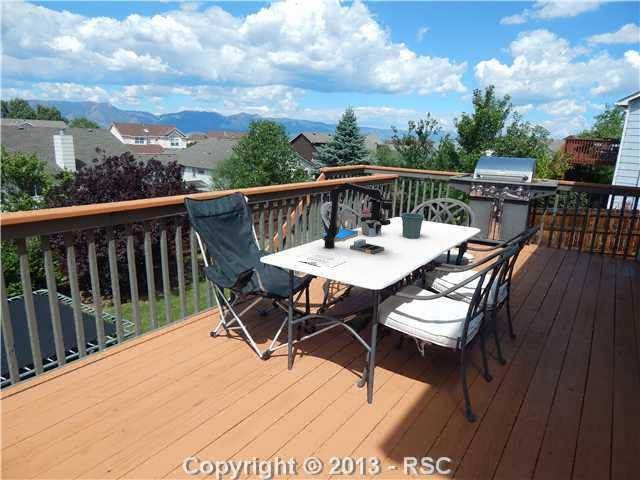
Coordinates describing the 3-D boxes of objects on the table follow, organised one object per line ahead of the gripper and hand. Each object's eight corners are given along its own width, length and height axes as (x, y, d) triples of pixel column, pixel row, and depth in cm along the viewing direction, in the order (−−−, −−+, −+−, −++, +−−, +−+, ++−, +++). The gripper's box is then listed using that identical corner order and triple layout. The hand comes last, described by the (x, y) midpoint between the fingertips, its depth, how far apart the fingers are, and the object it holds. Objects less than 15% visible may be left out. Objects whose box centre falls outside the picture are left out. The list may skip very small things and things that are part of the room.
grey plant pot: (384, 237, 295) (385, 208, 290) (359, 237, 295) (360, 208, 290) (381, 231, 312) (382, 204, 307) (357, 231, 313) (358, 204, 308)
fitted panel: (357, 249, 258) (357, 242, 257) (353, 248, 260) (353, 241, 259) (365, 246, 265) (365, 239, 264) (361, 246, 267) (362, 238, 266)
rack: (372, 256, 248) (373, 251, 247) (348, 250, 260) (348, 245, 259) (384, 251, 258) (384, 247, 257) (360, 246, 270) (360, 242, 269)
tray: (312, 253, 256) (312, 247, 255) (349, 263, 240) (349, 257, 239) (290, 261, 240) (290, 255, 239) (329, 272, 224) (329, 265, 223)
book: (358, 230, 299) (344, 237, 278) (358, 236, 300) (343, 243, 279) (337, 228, 307) (321, 234, 285) (337, 233, 308) (321, 240, 286)
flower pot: (421, 234, 305) (422, 213, 301) (424, 239, 289) (426, 217, 285) (398, 233, 306) (400, 212, 302) (400, 239, 290) (402, 216, 286)
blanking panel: (372, 237, 249) (373, 229, 248) (368, 236, 251) (369, 228, 250) (380, 234, 256) (381, 227, 254) (376, 234, 257) (377, 226, 256)
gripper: (395, 209, 249) (394, 234, 253) (370, 206, 261) (369, 229, 265) (386, 211, 241) (385, 237, 245) (360, 208, 253) (359, 232, 257)
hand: (374, 234), depth 253 cm, fingers closed on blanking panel, 3 cm apart
